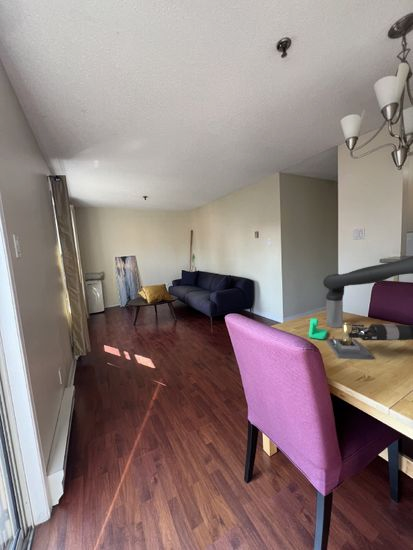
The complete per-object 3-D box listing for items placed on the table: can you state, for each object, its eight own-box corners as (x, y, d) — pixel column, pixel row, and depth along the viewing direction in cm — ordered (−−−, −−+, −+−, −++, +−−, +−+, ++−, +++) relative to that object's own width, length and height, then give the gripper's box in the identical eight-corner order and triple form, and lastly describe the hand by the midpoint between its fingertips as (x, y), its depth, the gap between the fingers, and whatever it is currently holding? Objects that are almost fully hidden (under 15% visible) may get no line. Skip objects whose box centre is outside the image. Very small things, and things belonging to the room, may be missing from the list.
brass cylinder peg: (341, 346, 115) (341, 321, 114) (350, 346, 114) (350, 321, 113) (344, 349, 111) (344, 323, 110) (353, 349, 110) (353, 323, 109)
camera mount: (323, 341, 127) (323, 323, 126) (309, 338, 131) (308, 321, 130) (327, 333, 136) (327, 317, 135) (313, 331, 141) (313, 315, 140)
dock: (326, 342, 125) (326, 334, 124) (355, 342, 122) (355, 334, 121) (338, 358, 107) (338, 349, 107) (372, 359, 104) (372, 349, 104)
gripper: (376, 319, 115) (340, 319, 118) (392, 330, 101) (351, 329, 104) (375, 334, 116) (340, 333, 119) (392, 346, 102) (351, 345, 105)
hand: (345, 331), depth 112 cm, fingers open, 8 cm apart
